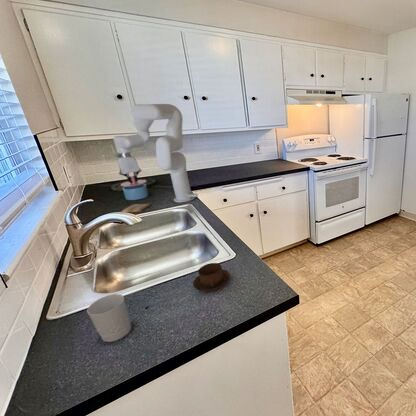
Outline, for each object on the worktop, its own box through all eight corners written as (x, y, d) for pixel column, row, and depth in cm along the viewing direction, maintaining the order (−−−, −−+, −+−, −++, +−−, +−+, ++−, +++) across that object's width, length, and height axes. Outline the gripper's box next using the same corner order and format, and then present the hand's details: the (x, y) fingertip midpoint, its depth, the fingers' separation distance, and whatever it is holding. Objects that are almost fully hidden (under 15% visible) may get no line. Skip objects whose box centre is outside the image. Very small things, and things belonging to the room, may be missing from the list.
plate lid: (148, 180, 192) (146, 172, 190) (145, 185, 180) (142, 177, 178) (123, 183, 187) (121, 175, 185) (118, 188, 174) (115, 180, 172)
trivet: (150, 205, 171) (150, 203, 170) (141, 211, 160) (140, 210, 160) (132, 205, 170) (132, 204, 170) (121, 212, 160) (121, 210, 159)
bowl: (150, 192, 195) (147, 182, 192) (147, 198, 183) (144, 187, 181) (127, 195, 190) (124, 185, 187) (123, 201, 178) (120, 190, 175)
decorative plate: (119, 180, 222) (160, 177, 230) (120, 182, 223) (160, 179, 230) (102, 191, 195) (148, 187, 203) (103, 193, 196) (149, 189, 203)
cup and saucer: (236, 283, 95) (234, 268, 92) (202, 299, 87) (198, 284, 85) (221, 269, 103) (219, 255, 100) (189, 283, 95) (185, 268, 93)
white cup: (91, 342, 72) (78, 313, 68) (117, 320, 79) (106, 292, 75) (117, 345, 71) (105, 316, 67) (140, 323, 78) (131, 295, 74)
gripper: (112, 157, 168) (121, 185, 175) (141, 153, 179) (148, 180, 186) (109, 156, 173) (118, 184, 179) (137, 152, 184) (145, 178, 191)
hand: (133, 182), depth 183 cm, fingers closed on plate lid, 2 cm apart
